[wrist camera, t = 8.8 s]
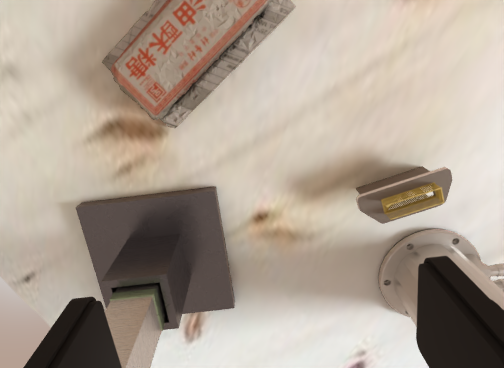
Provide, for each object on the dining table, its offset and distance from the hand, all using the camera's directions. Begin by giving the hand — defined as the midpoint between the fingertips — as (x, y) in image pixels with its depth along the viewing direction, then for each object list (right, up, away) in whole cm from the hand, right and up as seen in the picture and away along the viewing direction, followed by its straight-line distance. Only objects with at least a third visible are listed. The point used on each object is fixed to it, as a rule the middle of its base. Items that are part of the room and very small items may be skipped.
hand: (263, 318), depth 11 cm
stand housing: (-11, -5, +36) cm, 38 cm away
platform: (+16, +4, +34) cm, 38 cm away
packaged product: (-6, +19, +28) cm, 35 cm away
